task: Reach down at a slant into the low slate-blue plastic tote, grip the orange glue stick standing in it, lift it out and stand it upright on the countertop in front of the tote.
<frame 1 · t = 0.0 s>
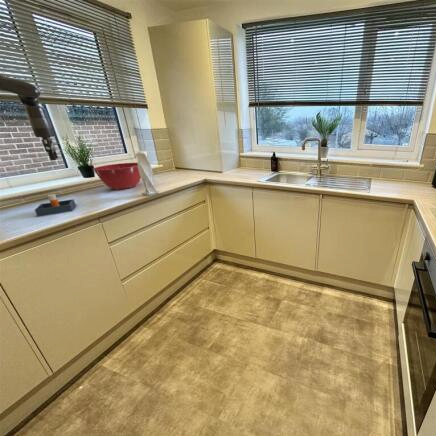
hand: (54, 159, 129), 25 cm above the countertop, tool pointing down, fingers open, 8 cm apart
tote: (58, 211, 125), on the countertop
white statue: (151, 194, 153), on the countertop
mixing bowl: (124, 187, 171), on the countertop
glue stick: (57, 210, 125), point 1 cm above the countertop, touching tote
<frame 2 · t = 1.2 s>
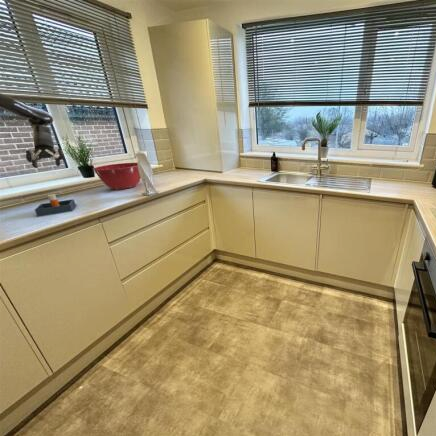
hand: (46, 166, 126), 22 cm above the countertop, tool tilted 45°, fingers open, 8 cm apart
nothing on the countertop moved.
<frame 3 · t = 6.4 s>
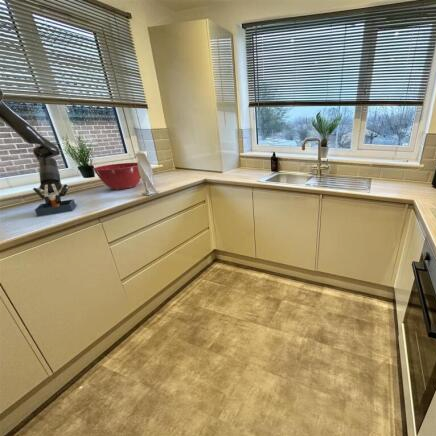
hand: (53, 203, 121), 5 cm above the countertop, tool tilted 45°, fingers closed on glue stick, 3 cm apart
glue stick: (57, 210, 125), point 1 cm above the countertop, touching gripper
everything else where it was.
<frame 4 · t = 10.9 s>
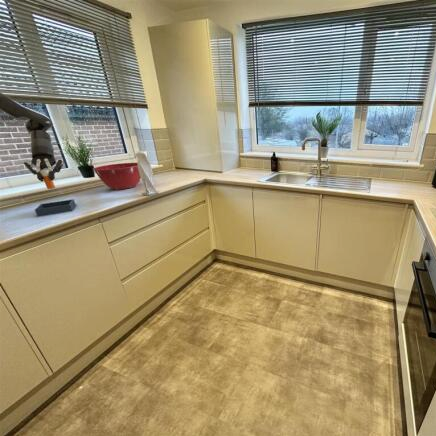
hand: (46, 179, 109), 19 cm above the countertop, tool tilted 45°, fingers closed on glue stick, 3 cm apart
glue stick: (51, 188, 113), point 14 cm above the countertop, touching gripper
everything else where it was.
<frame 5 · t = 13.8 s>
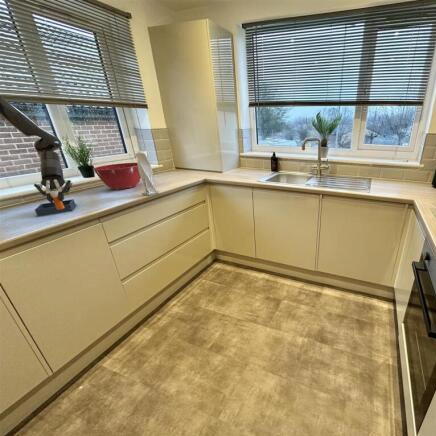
hand: (56, 200, 111), 9 cm above the countertop, tool tilted 45°, fingers closed on glue stick, 3 cm apart
glue stick: (60, 208, 114), point 5 cm above the countertop, touching gripper
everything else where it was.
when the fingers open (4 cm above the countertop, at t = 15.6 s): glue stick stays where it is, on the countertop.
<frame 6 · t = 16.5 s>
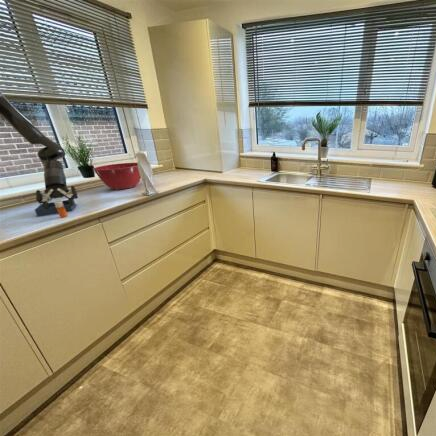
hand: (59, 207, 113), 6 cm above the countertop, tool tilted 45°, fingers open, 8 cm apart
glue stick: (64, 218, 116), on the countertop
everything else where it was.
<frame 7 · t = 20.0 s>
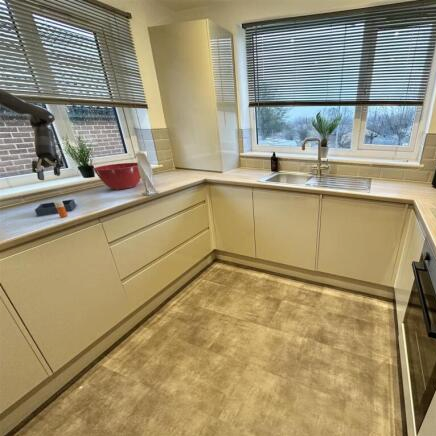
hand: (49, 177, 118), 18 cm above the countertop, tool tilted 30°, fingers open, 8 cm apart
nothing on the countertop moved.
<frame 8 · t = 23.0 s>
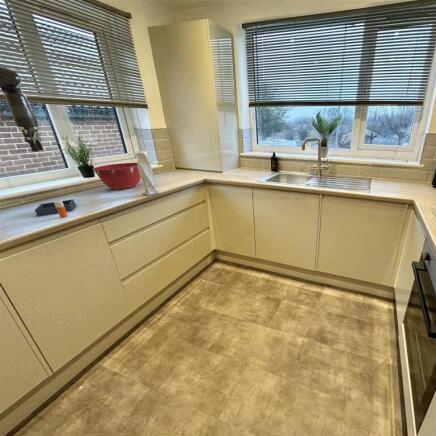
hand: (38, 150, 123), 30 cm above the countertop, tool pointing down, fingers open, 8 cm apart
nothing on the countertop moved.
at the end: glue stick inside the target area (0.1 cm from its centre), on the countertop; glue stick tilted 0°; glue stick touching countertop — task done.
